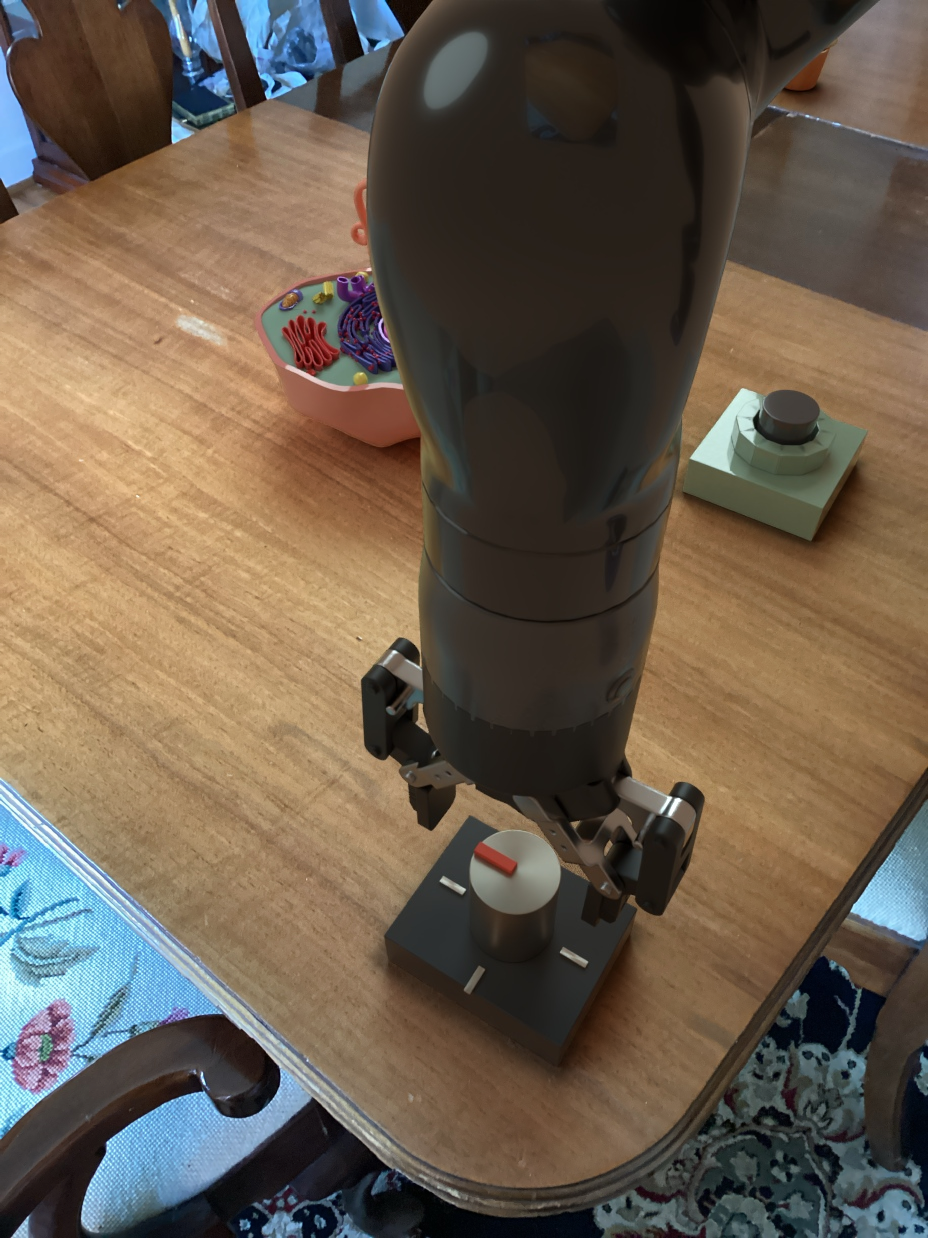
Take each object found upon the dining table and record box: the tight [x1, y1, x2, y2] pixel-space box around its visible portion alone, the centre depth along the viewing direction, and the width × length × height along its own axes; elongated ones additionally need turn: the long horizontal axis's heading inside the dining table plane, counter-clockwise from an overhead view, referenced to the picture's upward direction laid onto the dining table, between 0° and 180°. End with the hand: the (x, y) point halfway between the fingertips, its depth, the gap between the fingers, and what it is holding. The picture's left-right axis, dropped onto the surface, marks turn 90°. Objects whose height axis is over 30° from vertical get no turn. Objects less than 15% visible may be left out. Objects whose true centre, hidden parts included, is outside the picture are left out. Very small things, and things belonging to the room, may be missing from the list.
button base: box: [682, 387, 869, 542], centre depth 74 cm, size 10×10×5 cm
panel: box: [383, 814, 638, 1068], centre depth 51 cm, size 10×8×3 cm
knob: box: [469, 829, 562, 962], centre depth 47 cm, size 4×4×6 cm
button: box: [757, 389, 821, 445], centre depth 71 cm, size 4×4×2 cm
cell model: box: [254, 267, 421, 448], centre depth 77 cm, size 17×20×11 cm
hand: (514, 858), depth 45 cm, fingers open, 8 cm apart
